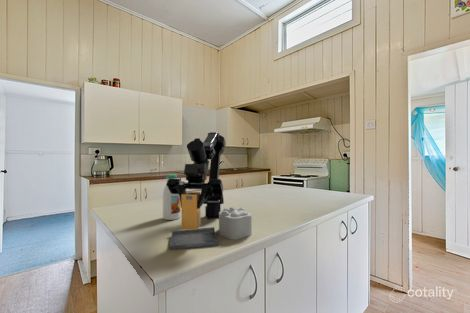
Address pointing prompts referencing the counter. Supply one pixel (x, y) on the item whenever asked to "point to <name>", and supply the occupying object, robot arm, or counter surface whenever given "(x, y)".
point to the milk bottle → (170, 202)
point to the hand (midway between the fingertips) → (189, 207)
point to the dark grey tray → (193, 238)
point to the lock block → (190, 210)
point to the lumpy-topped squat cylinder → (235, 223)
